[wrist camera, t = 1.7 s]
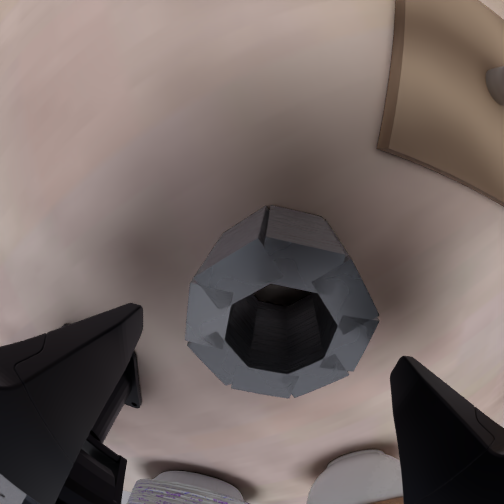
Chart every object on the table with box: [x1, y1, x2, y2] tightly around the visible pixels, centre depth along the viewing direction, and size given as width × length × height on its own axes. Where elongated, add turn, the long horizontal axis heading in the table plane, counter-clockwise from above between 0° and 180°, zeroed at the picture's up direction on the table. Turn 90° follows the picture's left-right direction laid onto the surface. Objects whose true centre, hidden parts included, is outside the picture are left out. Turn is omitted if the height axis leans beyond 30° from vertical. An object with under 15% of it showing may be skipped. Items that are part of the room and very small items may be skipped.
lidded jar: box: [307, 449, 404, 504], centre depth 16 cm, size 11×11×9 cm
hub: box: [185, 205, 379, 398], centre depth 11 cm, size 6×6×5 cm
